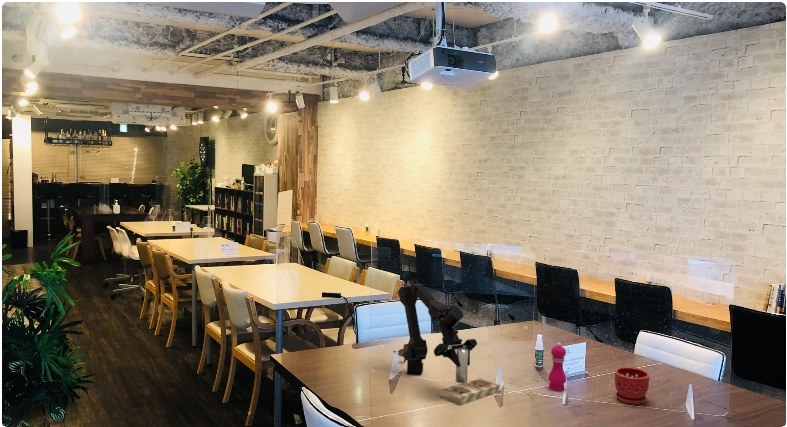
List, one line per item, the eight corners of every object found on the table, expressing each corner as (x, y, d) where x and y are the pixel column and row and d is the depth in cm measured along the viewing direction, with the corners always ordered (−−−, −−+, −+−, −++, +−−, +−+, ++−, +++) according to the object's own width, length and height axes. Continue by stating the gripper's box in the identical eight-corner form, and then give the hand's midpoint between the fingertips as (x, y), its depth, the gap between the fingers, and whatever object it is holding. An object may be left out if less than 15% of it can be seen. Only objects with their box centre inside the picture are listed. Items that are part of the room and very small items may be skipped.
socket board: (460, 405, 247) (460, 396, 246) (440, 396, 255) (440, 388, 255) (499, 391, 262) (499, 384, 262) (479, 384, 271) (479, 377, 270)
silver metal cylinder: (454, 382, 253) (456, 350, 252) (456, 378, 257) (457, 347, 256) (466, 383, 252) (467, 351, 250) (467, 379, 256) (468, 348, 255)
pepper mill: (566, 387, 270) (568, 341, 269) (564, 392, 264) (567, 345, 262) (548, 384, 273) (551, 339, 271) (547, 390, 266) (549, 343, 264)
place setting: (432, 356, 311) (432, 344, 310) (405, 365, 296) (406, 353, 295) (404, 349, 322) (405, 337, 322) (378, 357, 307) (378, 345, 307)
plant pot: (609, 394, 263) (610, 366, 262) (641, 395, 263) (642, 367, 262) (619, 406, 250) (621, 376, 249) (653, 407, 250) (654, 377, 249)
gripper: (457, 339, 271) (472, 372, 263) (421, 345, 261) (436, 379, 253) (469, 325, 264) (485, 359, 255) (433, 330, 254) (448, 365, 246)
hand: (464, 366), depth 253 cm, fingers closed on silver metal cylinder, 5 cm apart
